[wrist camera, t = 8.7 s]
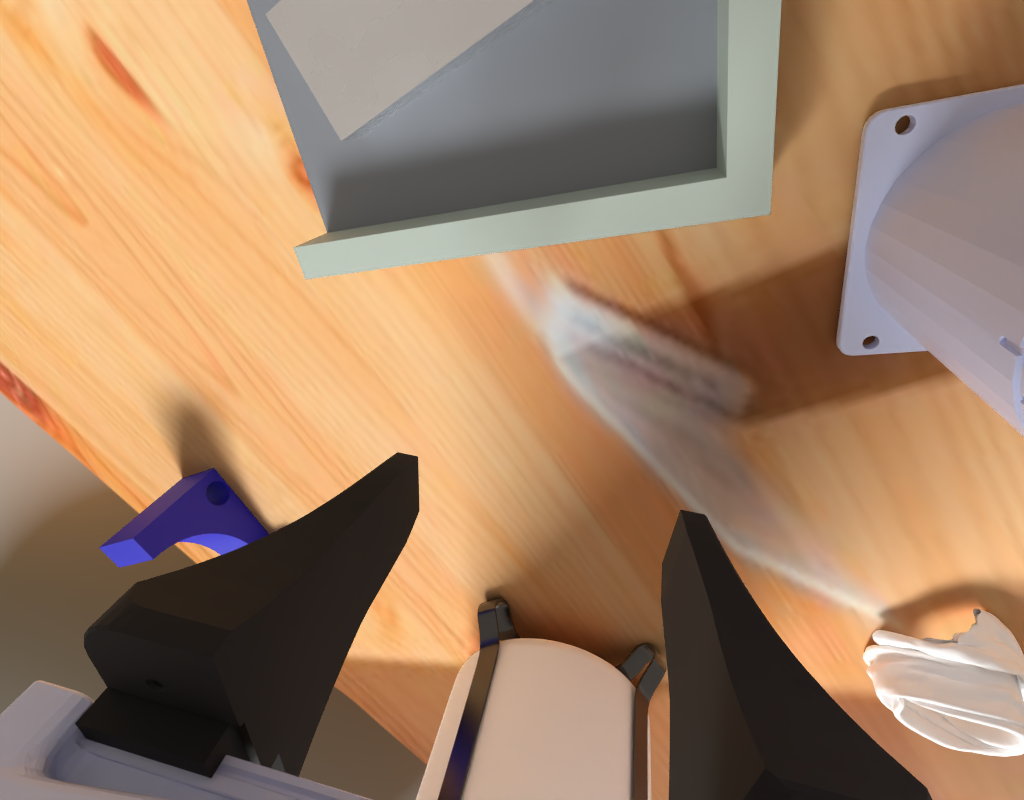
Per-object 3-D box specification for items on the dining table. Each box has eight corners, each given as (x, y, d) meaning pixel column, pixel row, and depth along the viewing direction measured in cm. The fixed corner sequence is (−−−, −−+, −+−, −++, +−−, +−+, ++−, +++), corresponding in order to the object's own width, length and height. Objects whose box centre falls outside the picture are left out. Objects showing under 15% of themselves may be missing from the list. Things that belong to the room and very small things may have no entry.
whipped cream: (1035, 662, 26) (1124, 769, 22) (900, 705, 29) (956, 807, 25) (965, 576, 24) (1050, 677, 20) (826, 632, 26) (874, 731, 22)
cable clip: (342, 597, 35) (292, 681, 30) (295, 604, 37) (240, 685, 32) (232, 460, 30) (150, 533, 25) (184, 476, 32) (99, 547, 27)
